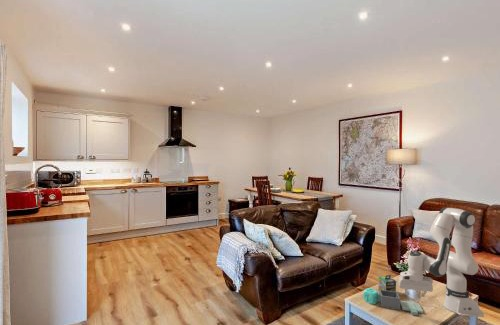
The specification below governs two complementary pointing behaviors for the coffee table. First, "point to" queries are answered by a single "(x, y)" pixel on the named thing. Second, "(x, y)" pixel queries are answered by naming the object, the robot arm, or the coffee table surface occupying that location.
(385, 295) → the tub
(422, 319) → the coffee table surface
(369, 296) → the decorative dice
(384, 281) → the chalk box
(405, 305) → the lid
